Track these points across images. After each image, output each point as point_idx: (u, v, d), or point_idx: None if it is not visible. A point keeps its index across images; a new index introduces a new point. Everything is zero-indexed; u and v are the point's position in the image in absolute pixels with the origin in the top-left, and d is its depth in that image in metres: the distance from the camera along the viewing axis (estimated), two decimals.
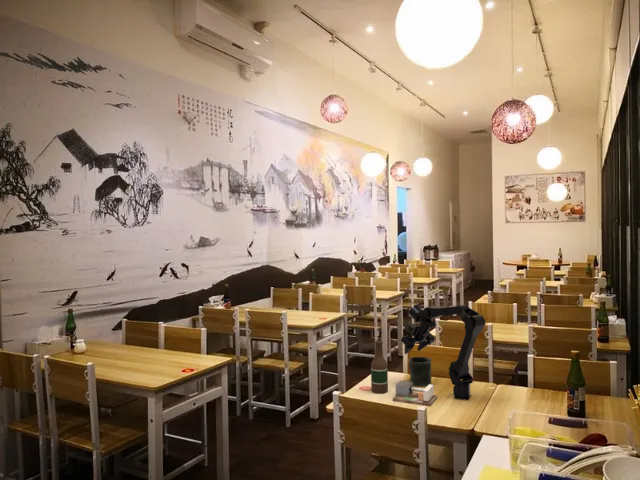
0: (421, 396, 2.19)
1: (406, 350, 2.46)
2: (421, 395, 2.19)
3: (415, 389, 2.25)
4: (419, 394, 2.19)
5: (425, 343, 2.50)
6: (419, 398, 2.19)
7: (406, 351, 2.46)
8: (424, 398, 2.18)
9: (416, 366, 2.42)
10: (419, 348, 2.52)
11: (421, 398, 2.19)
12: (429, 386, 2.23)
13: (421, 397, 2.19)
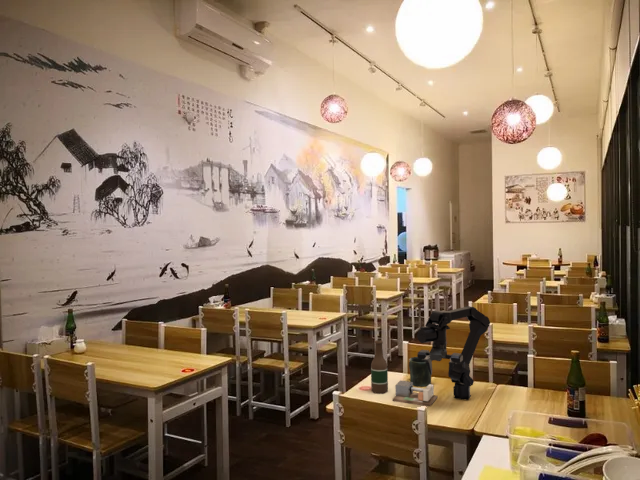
0: (421, 396, 2.19)
1: (451, 370, 2.17)
2: (421, 395, 2.19)
3: (415, 389, 2.25)
4: (419, 394, 2.19)
5: (431, 359, 2.23)
6: (419, 398, 2.19)
7: (451, 371, 2.17)
8: (424, 398, 2.18)
9: (416, 366, 2.42)
10: (431, 370, 2.21)
11: (421, 398, 2.19)
12: (429, 386, 2.23)
13: (421, 397, 2.19)
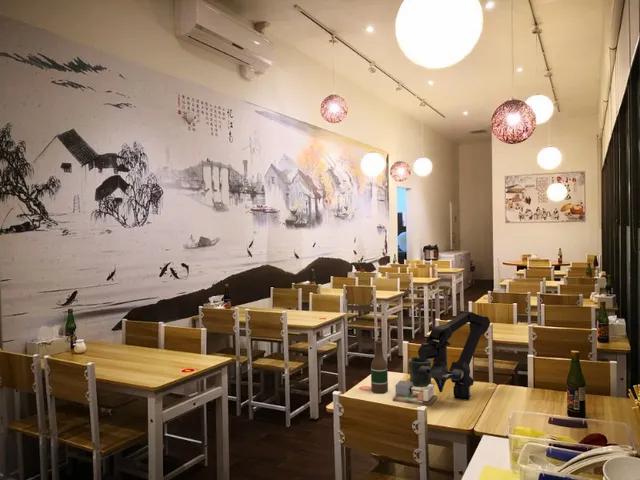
0: (421, 396, 2.19)
1: (443, 385, 2.19)
2: (421, 395, 2.19)
3: (415, 389, 2.25)
4: (419, 394, 2.19)
5: None
6: (419, 398, 2.19)
7: (443, 387, 2.19)
8: (424, 398, 2.18)
9: (416, 366, 2.42)
10: None
11: (421, 398, 2.19)
12: (429, 386, 2.23)
13: (421, 397, 2.19)
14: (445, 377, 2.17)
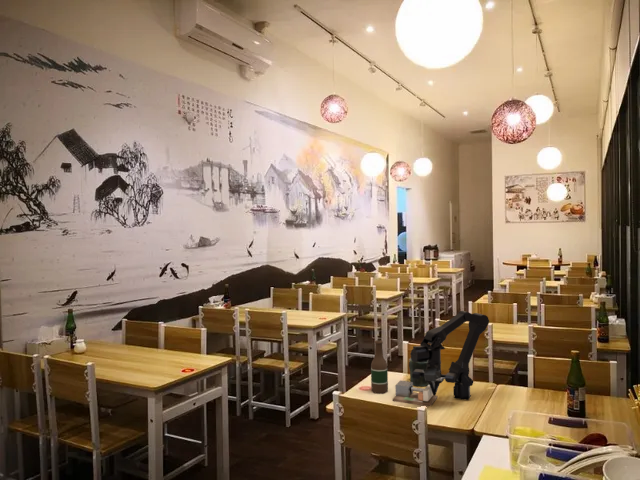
0: (421, 396, 2.19)
1: (437, 389, 2.20)
2: (421, 395, 2.19)
3: (415, 389, 2.25)
4: (419, 394, 2.19)
5: None
6: (419, 398, 2.19)
7: None
8: (424, 398, 2.18)
9: (416, 366, 2.42)
10: None
11: (421, 398, 2.19)
12: (429, 386, 2.23)
13: (421, 397, 2.19)
14: (439, 380, 2.18)
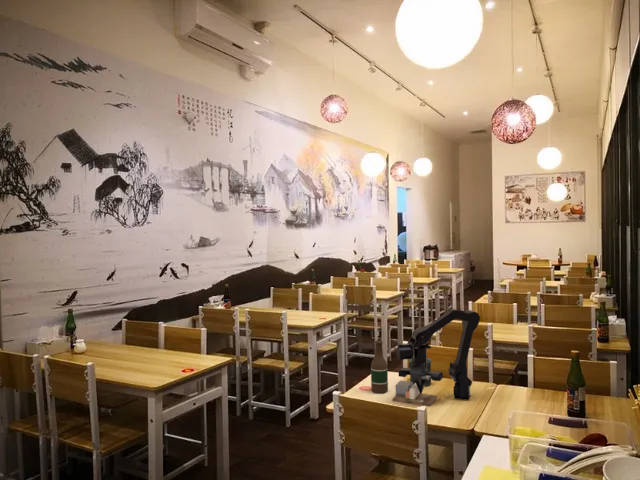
0: (408, 394, 2.21)
1: (423, 387, 2.23)
2: (408, 393, 2.21)
3: None
4: (406, 392, 2.22)
5: None
6: (406, 396, 2.22)
7: (423, 388, 2.23)
8: (410, 396, 2.21)
9: None
10: None
11: (408, 396, 2.21)
12: (416, 384, 2.26)
13: (408, 395, 2.21)
14: (425, 379, 2.21)
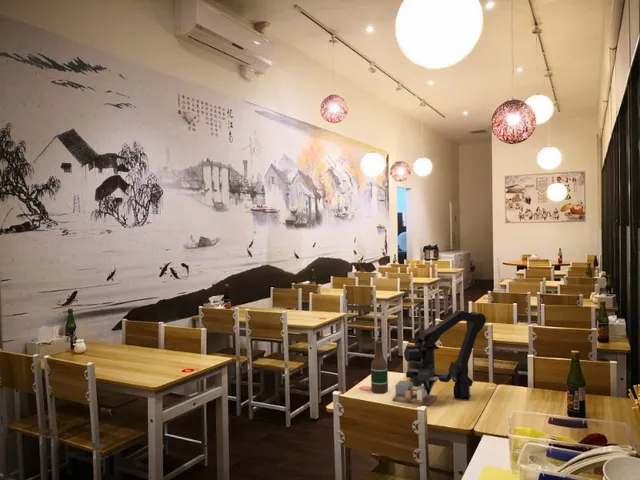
0: (408, 394, 2.21)
1: (431, 388, 2.21)
2: (408, 393, 2.21)
3: None
4: (406, 392, 2.22)
5: None
6: (406, 396, 2.22)
7: None
8: (418, 397, 2.19)
9: (416, 366, 2.42)
10: None
11: (408, 396, 2.21)
12: (423, 385, 2.25)
13: (408, 395, 2.21)
14: (433, 380, 2.19)
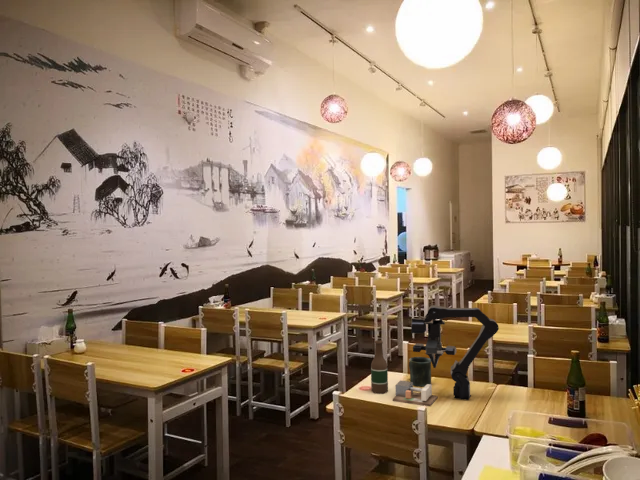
0: (408, 394, 2.21)
1: (437, 361, 2.28)
2: (408, 393, 2.21)
3: (413, 389, 2.26)
4: (406, 392, 2.22)
5: (433, 353, 2.30)
6: (406, 396, 2.22)
7: None
8: (422, 397, 2.18)
9: (416, 366, 2.42)
10: None
11: (408, 396, 2.21)
12: (427, 386, 2.24)
13: (408, 395, 2.21)
14: (439, 353, 2.25)
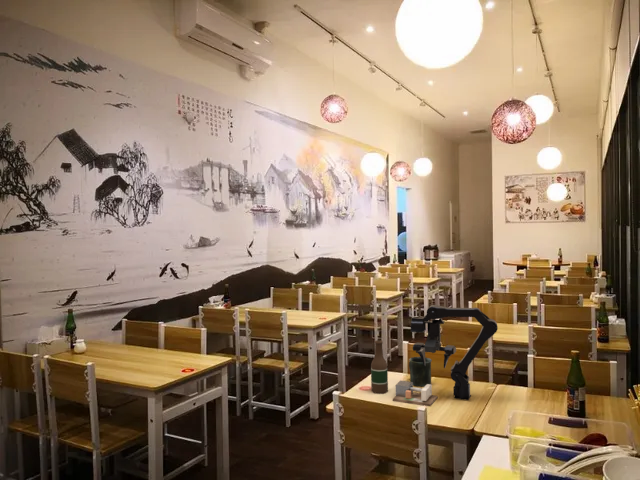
0: (408, 394, 2.21)
1: (446, 362, 2.27)
2: (408, 393, 2.21)
3: (413, 389, 2.26)
4: (406, 392, 2.22)
5: (424, 351, 2.33)
6: (406, 396, 2.22)
7: (446, 363, 2.27)
8: (422, 397, 2.18)
9: (416, 366, 2.42)
10: (425, 362, 2.32)
11: (408, 396, 2.21)
12: (427, 386, 2.24)
13: (408, 395, 2.21)
14: None
